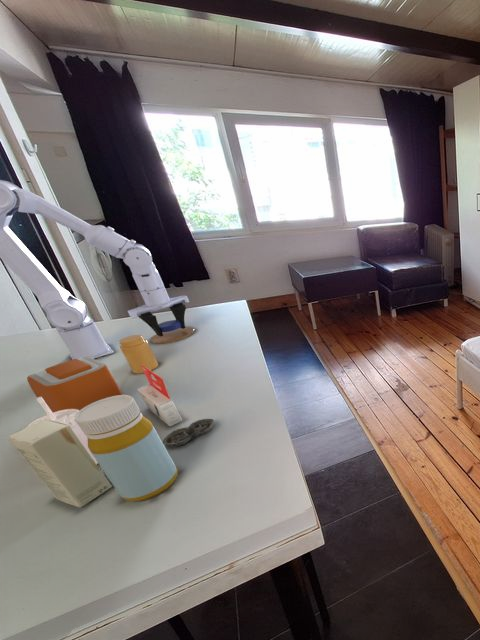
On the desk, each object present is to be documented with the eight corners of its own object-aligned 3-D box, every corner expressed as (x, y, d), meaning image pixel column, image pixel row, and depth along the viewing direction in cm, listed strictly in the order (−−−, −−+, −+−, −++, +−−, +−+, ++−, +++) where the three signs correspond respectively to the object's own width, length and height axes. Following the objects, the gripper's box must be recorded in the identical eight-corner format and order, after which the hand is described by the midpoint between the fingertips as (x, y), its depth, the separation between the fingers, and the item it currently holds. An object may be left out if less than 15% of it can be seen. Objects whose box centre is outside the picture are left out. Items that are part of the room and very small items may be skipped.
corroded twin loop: (219, 429, 69) (217, 424, 68) (169, 452, 63) (166, 448, 63) (210, 419, 72) (208, 414, 71) (161, 441, 66) (159, 436, 66)
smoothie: (77, 483, 58) (25, 412, 52) (47, 478, 59) (-8, 408, 53) (119, 454, 64) (76, 387, 57) (90, 451, 65) (45, 384, 58)
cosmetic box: (114, 487, 57) (72, 424, 51) (80, 509, 53) (31, 445, 48) (88, 478, 59) (45, 417, 53) (54, 499, 55) (4, 436, 50)
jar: (130, 369, 92) (114, 340, 88) (154, 361, 96) (140, 332, 92) (136, 375, 89) (120, 344, 85) (161, 366, 93) (147, 336, 89)
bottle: (144, 471, 60) (98, 395, 53) (188, 467, 60) (148, 391, 53) (111, 506, 54) (54, 425, 47) (160, 501, 54) (111, 420, 47)
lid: (164, 333, 106) (162, 328, 106) (154, 330, 109) (152, 325, 108) (185, 326, 111) (183, 321, 110) (175, 323, 113) (173, 318, 113)
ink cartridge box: (169, 427, 70) (147, 384, 65) (148, 409, 76) (125, 369, 71) (184, 420, 72) (163, 378, 67) (162, 403, 77) (141, 363, 73)
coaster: (146, 337, 110) (145, 336, 110) (188, 325, 118) (187, 324, 118) (156, 346, 104) (156, 345, 104) (200, 333, 111) (199, 332, 111)
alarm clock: (142, 420, 72) (109, 361, 66) (88, 447, 66) (45, 384, 59) (109, 402, 79) (76, 346, 73) (56, 425, 72) (14, 366, 66)
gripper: (127, 297, 97) (150, 343, 103) (186, 282, 108) (203, 325, 114) (116, 294, 100) (138, 339, 106) (174, 280, 111) (191, 321, 117)
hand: (171, 331), depth 110 cm, fingers closed on lid, 5 cm apart
